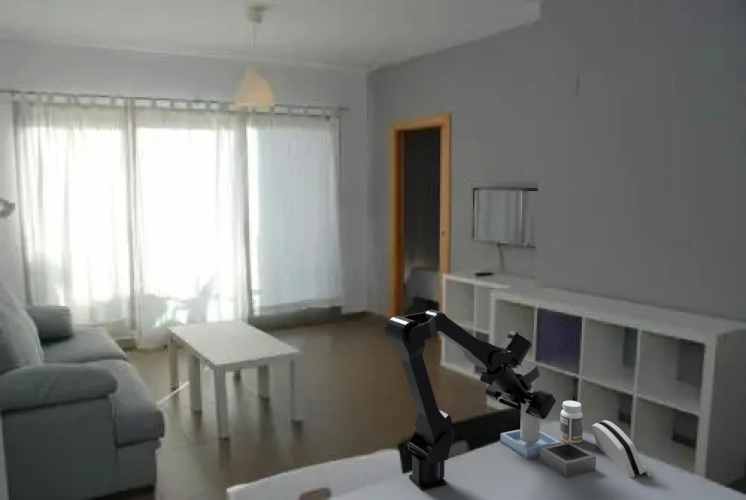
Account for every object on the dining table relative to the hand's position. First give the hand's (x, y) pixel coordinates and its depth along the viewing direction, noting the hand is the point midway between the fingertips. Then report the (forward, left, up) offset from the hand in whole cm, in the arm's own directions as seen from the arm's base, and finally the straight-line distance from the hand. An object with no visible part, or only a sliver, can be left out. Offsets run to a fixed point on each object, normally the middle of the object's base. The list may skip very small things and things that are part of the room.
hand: (533, 413), depth 149 cm
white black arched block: (+13, -15, -9) cm, 22 cm away
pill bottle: (+12, -1, -9) cm, 15 cm away
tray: (-1, 0, -9) cm, 9 cm away
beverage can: (-1, 0, -7) cm, 7 cm away
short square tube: (0, -12, -9) cm, 15 cm away
